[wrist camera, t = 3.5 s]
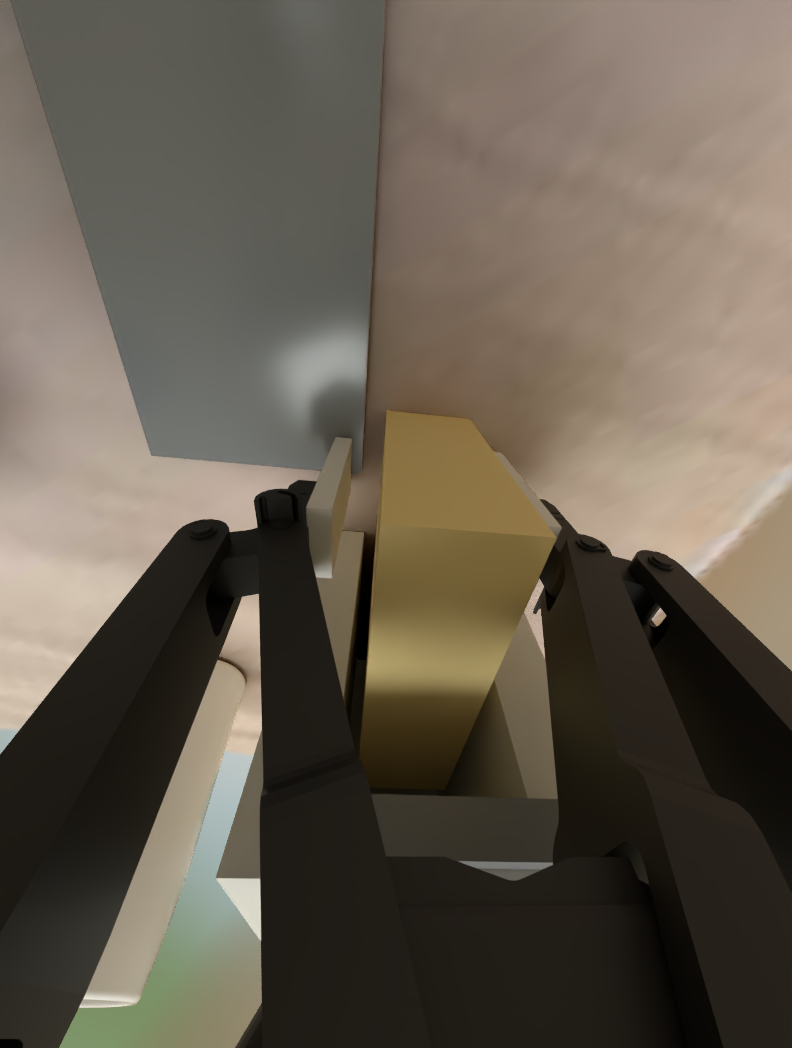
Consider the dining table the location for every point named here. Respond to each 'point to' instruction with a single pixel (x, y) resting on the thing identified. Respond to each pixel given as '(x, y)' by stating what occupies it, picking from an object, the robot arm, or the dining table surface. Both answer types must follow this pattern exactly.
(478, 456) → the yellow rectangular block
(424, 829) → the box
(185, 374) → the slate pad
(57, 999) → the robot arm
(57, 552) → the dining table surface
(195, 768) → the drinking glass
